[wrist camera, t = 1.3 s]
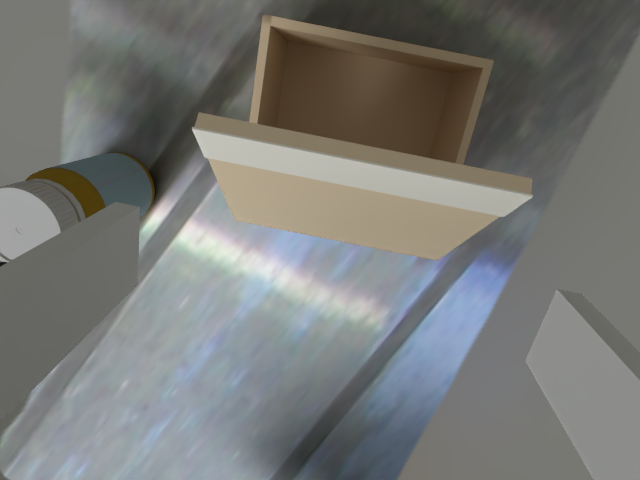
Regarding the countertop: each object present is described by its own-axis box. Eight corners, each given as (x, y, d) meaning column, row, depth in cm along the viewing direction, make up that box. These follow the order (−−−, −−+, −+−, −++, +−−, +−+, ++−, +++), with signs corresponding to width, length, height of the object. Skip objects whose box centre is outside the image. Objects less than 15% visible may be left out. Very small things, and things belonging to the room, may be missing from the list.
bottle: (120, 136, 43) (8, 159, 29) (171, 190, 44) (87, 237, 30) (76, 181, 45) (-50, 222, 31) (126, 231, 46) (28, 293, 32)
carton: (418, 215, 44) (437, 249, 34) (261, 184, 44) (237, 210, 34) (459, 67, 39) (494, 60, 30) (284, 32, 39) (263, 14, 30)
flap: (439, 251, 34) (438, 262, 34) (236, 210, 34) (233, 221, 34) (534, 178, 20) (533, 196, 20) (196, 111, 20) (191, 128, 20)
